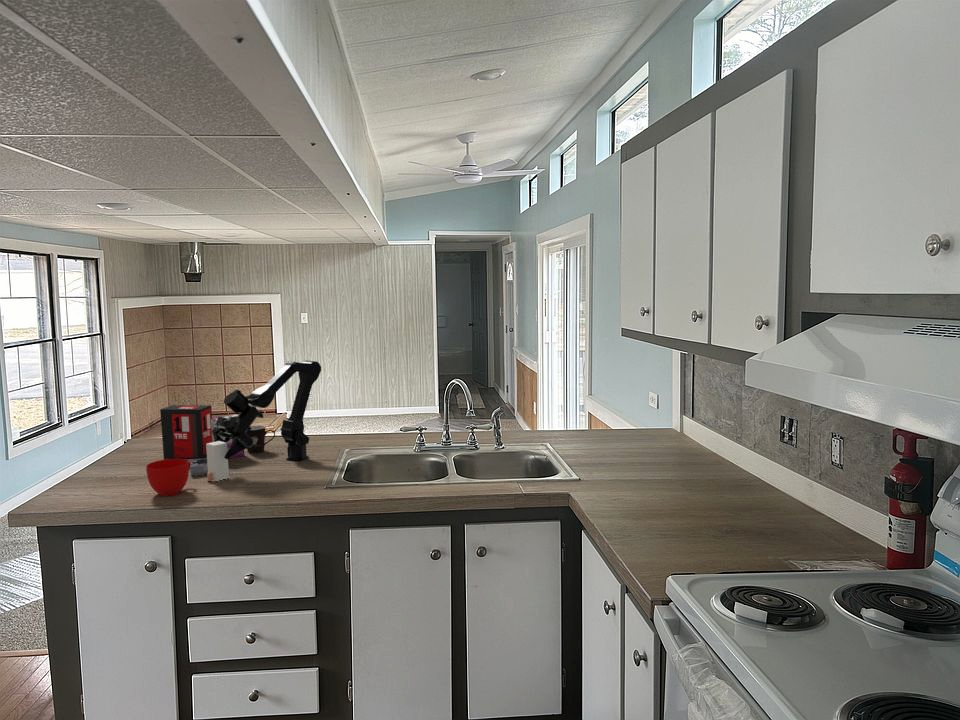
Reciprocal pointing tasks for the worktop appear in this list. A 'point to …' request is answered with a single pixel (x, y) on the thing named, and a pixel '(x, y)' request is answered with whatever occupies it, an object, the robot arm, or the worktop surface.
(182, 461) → the ceramic cup
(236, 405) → the robot arm
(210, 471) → the keyed peg
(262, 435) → the coffee mug
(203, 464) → the keyed socket block
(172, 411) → the cleaning product box
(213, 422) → the candy bar box
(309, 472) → the worktop surface
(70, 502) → the worktop surface
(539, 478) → the worktop surface
